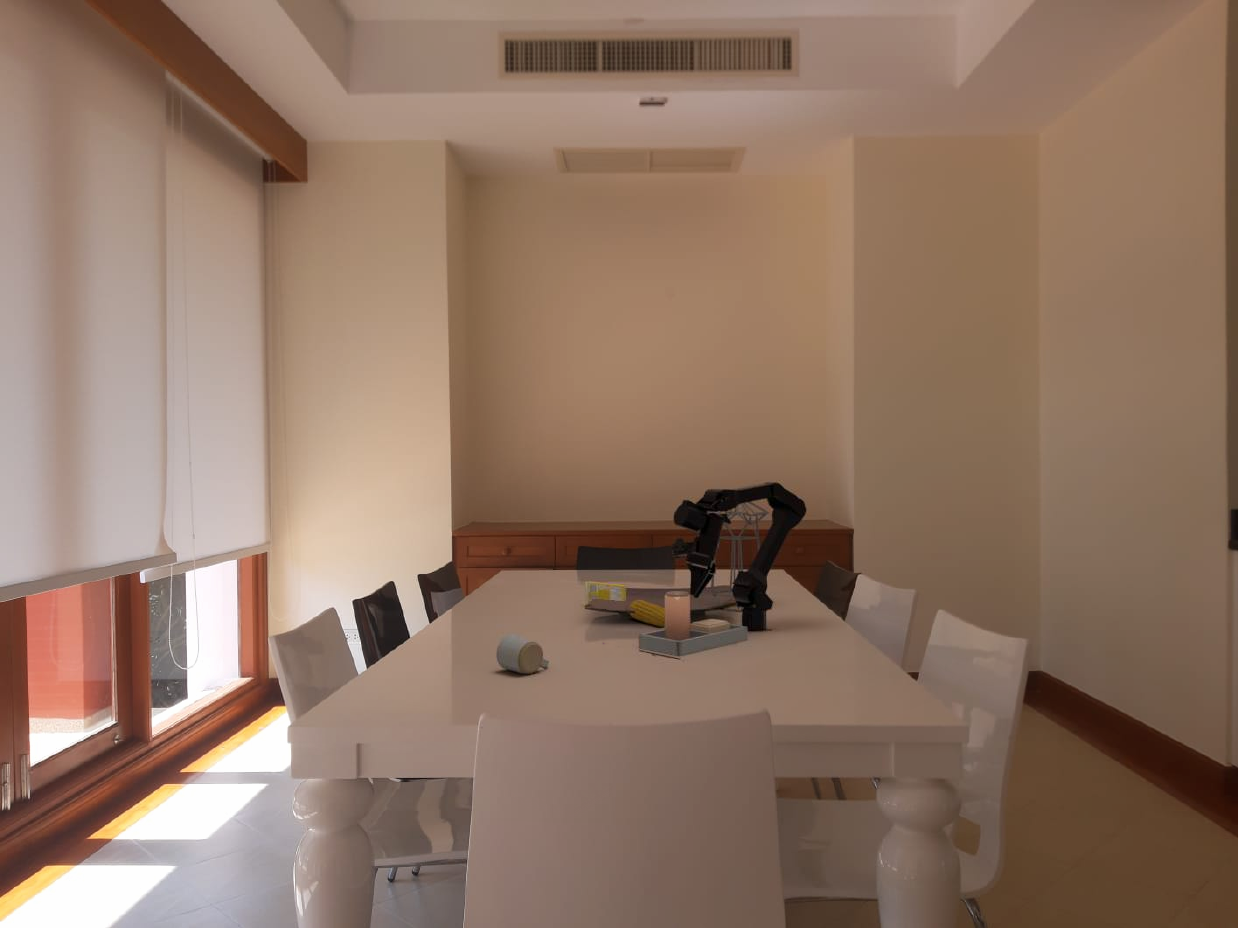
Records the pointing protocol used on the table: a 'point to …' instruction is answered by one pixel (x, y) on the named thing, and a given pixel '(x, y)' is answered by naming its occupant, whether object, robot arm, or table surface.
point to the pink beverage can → (677, 615)
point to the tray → (691, 641)
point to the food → (648, 613)
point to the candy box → (604, 591)
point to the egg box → (710, 626)
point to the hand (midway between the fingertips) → (694, 596)
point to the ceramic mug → (520, 654)
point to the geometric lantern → (738, 541)
